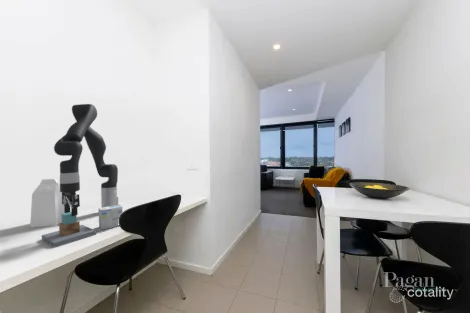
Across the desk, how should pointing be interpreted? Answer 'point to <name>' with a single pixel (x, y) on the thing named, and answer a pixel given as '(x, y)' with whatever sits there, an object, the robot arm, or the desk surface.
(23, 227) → the desk surface
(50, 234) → the slate gray board
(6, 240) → the desk surface
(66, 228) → the walnut block
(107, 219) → the light bulb box
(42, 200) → the milk
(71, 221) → the teal block
